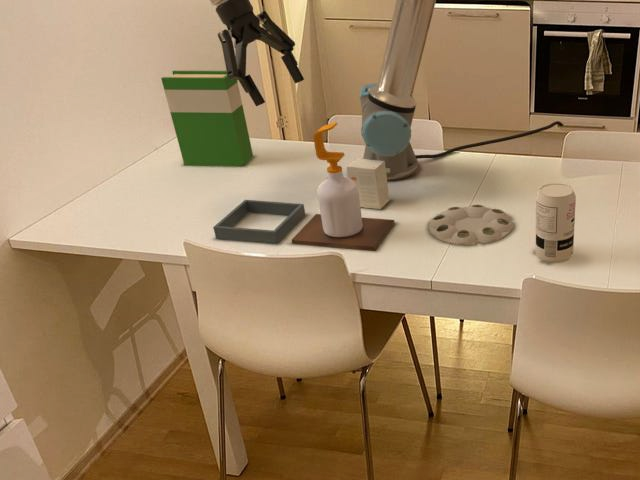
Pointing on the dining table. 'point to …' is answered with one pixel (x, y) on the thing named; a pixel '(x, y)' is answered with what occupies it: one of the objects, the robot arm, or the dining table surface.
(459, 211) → the paint palette
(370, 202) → the small box
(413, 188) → the dining table surface
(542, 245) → the supplement can
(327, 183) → the soap bottle
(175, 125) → the hardback book
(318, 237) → the walnut board
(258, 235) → the square frame
